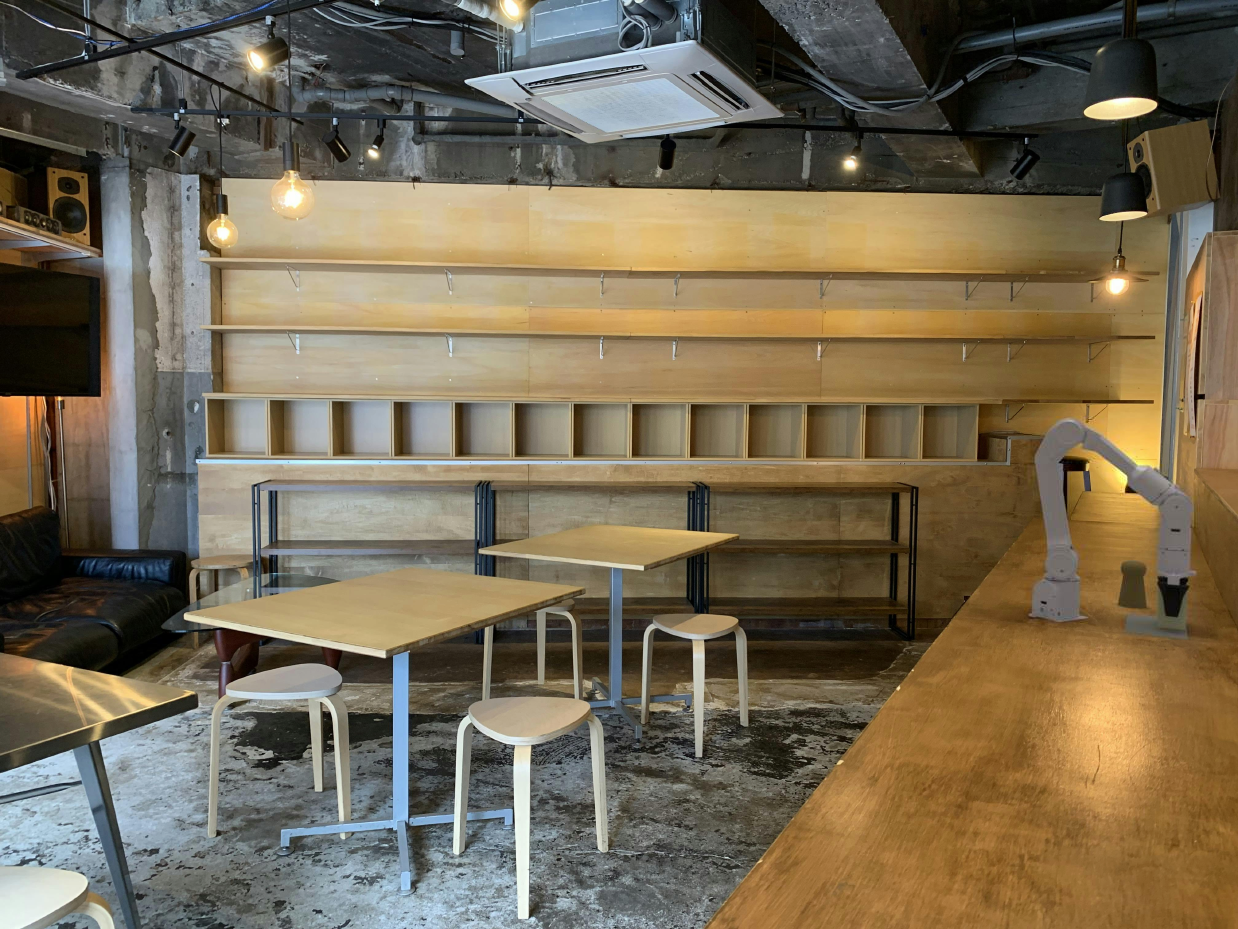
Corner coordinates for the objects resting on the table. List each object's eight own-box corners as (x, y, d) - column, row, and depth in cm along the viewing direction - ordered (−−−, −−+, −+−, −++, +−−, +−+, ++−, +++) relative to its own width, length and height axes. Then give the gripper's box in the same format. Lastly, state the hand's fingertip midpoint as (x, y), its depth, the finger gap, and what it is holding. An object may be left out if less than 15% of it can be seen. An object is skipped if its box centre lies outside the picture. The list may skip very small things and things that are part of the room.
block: (1185, 630, 184) (1186, 591, 183) (1157, 627, 186) (1158, 589, 186) (1185, 626, 187) (1186, 588, 186) (1157, 623, 190) (1158, 586, 189)
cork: (1139, 605, 210) (1141, 559, 209) (1152, 611, 204) (1154, 563, 203) (1112, 605, 210) (1114, 559, 210) (1124, 610, 204) (1126, 563, 204)
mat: (1187, 642, 176) (1187, 639, 176) (1123, 635, 182) (1124, 632, 182) (1185, 622, 193) (1185, 619, 193) (1127, 616, 199) (1127, 613, 199)
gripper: (1198, 555, 177) (1195, 622, 178) (1195, 546, 190) (1193, 609, 190) (1156, 552, 181) (1154, 618, 182) (1157, 543, 193) (1154, 605, 194)
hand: (1171, 613), depth 186 cm, fingers open, 6 cm apart
